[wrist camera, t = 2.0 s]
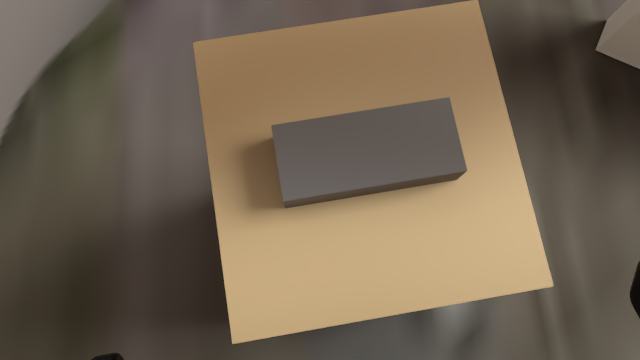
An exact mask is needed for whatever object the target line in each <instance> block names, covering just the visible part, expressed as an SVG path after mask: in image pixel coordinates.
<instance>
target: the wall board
mask: <svg viewBox="0 0 640 360" xmlns="http://www.w3.org/2000/svg"><path fill="white" fill-rule="evenodd" d="M596 51H598V52H601V53H603V54H605V55H608V56H610V57H612V58H615V59H617V60H620V61H622V62H624V63H627V64H629V65H631V66H634V67H636V68H638V69H640V0H627V1H626V2H625V3H624V4H623V5H622V6H621V7H620V8H619V9H618V10H617V11H616V12H615V13H614V14H613V15H611V16H610V17H609V18H608V19H607V22H606V24H605V27H604V29H603V32H602V34H601V37H600V40H599V42H598V45H597V47H596Z"/></svg>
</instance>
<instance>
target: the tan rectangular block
mask: <svg viewBox="0 0 640 360" xmlns="http://www.w3.org/2000/svg"><path fill="white" fill-rule="evenodd" d="M193 46H194V54H195V61H196V69H197V77H198V84H199V92H200V100H201V107H202V115H203V123H204V130H205V138H206V146H207V153H208V161H209V169H210V176H211V184H212V192H213V199H214V207H215V215H216V222H217V230H218V238H219V245H220V253H221V261H222V268H223V276H224V284H225V291H226V299H227V307H228V315H229V322H230V330H231V338H232V344H236V343H241V342H247V341H252V340H258V339H263V338H269V337H275V336H280V335H286V334H291V333H297V332H302V331H308V330H313V329H319V328H325V327H330V326H336V325H341V324H347V323H352V322H358V321H363V320H369V319H375V318H380V317H386V316H391V315H397V314H402V313H408V312H414V311H419V310H425V309H430V308H436V307H441V306H447V305H452V304H458V303H464V302H469V301H475V300H480V299H486V298H491V297H497V296H503V295H508V294H514V293H519V292H525V291H530V290H536V289H541V288H547V287H553V286H554V285H553V282H552V278H551V274H550V270H549V267H548V263H547V259H546V255H545V252H544V248H543V244H542V240H541V236H540V233H539V229H538V225H537V221H536V218H535V214H534V210H533V206H532V203H531V199H530V195H529V191H528V187H527V184H526V180H525V176H524V172H523V169H522V165H521V161H520V157H519V154H518V150H517V146H516V142H515V139H514V135H513V131H512V127H511V123H510V120H509V116H508V112H507V108H506V105H505V101H504V97H503V93H502V90H501V86H500V82H499V78H498V74H497V71H496V67H495V63H494V59H493V56H492V52H491V48H490V44H489V41H488V37H487V33H486V29H485V25H484V22H483V18H482V14H481V10H480V7H479V3H478V0H473V1H466V2H459V3H453V4H446V5H439V6H432V7H426V8H419V9H412V10H406V11H399V12H392V13H385V14H379V15H372V16H365V17H359V18H352V19H345V20H338V21H332V22H325V23H318V24H312V25H305V26H298V27H291V28H285V29H278V30H271V31H265V32H258V33H251V34H244V35H238V36H231V37H224V38H218V39H211V40H204V41H197V42H193Z"/></svg>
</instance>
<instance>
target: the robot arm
mask: <svg viewBox="0 0 640 360" xmlns="http://www.w3.org/2000/svg"><path fill="white" fill-rule="evenodd" d="M630 299H631V303H632V305H633V307H634V309H635V311H636V313H637V315H638V316H639V318H640V261H639V263H638V265H637V268H636V272H635V275H634V279H633V282H632V286H631V289H630ZM91 360H124V359H123V358H122V356H121V355H120V354H119V353H111V354H106V355H100V356H96V357H94V358H93V359H91Z"/></svg>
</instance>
